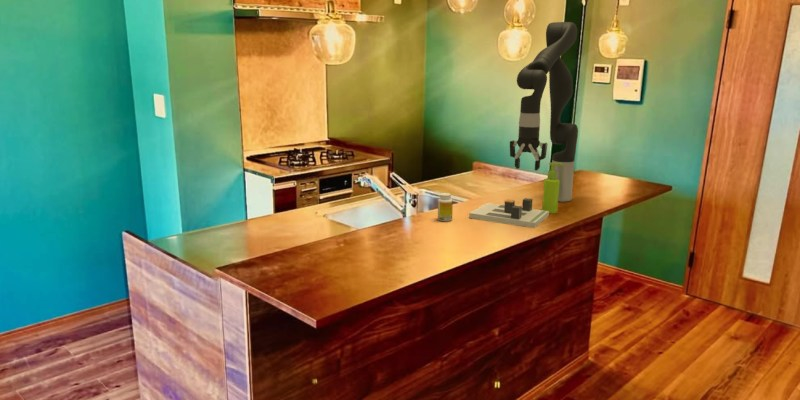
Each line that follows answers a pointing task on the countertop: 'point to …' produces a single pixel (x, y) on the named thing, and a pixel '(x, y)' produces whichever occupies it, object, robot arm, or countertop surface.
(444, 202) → the supplement bottle
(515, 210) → the block
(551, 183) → the soap dispenser
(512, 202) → the breaker mid
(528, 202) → the breaker
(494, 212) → the breaker panel
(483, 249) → the countertop surface
